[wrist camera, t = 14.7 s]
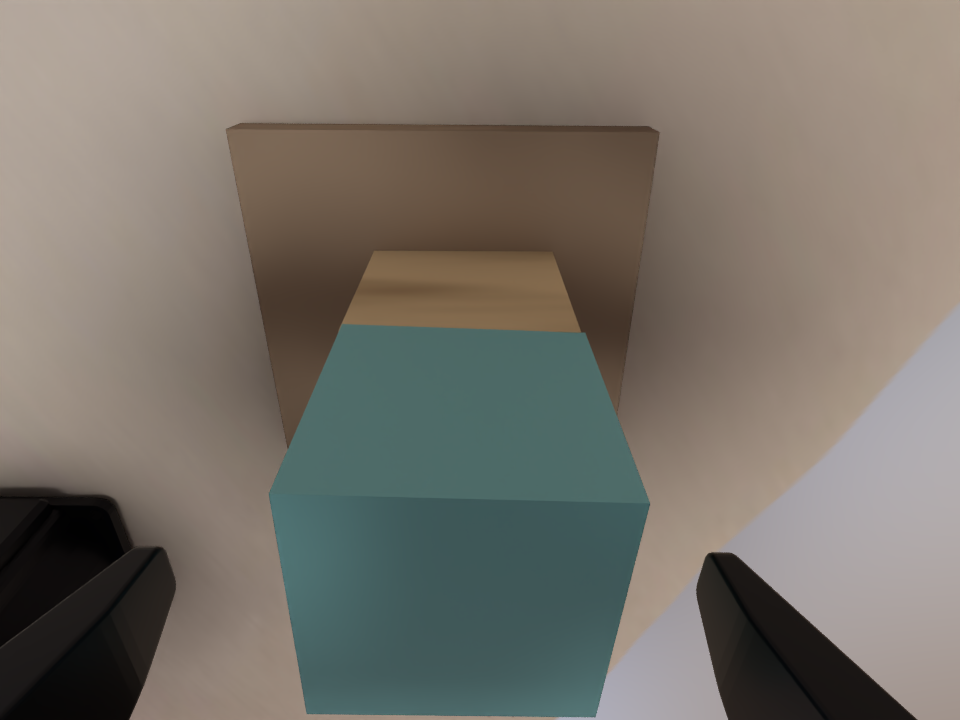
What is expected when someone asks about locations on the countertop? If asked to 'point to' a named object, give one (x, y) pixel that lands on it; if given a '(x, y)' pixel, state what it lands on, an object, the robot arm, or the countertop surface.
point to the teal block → (457, 525)
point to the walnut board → (435, 221)
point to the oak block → (463, 291)
